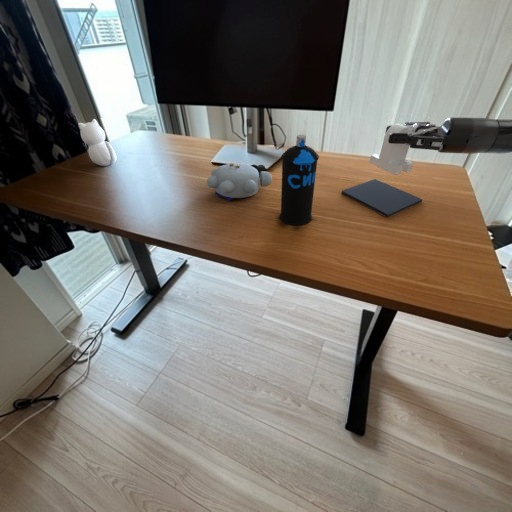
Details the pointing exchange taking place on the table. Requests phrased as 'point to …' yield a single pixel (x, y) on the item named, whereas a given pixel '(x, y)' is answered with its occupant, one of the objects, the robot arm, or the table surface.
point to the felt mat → (381, 197)
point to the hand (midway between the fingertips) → (387, 134)
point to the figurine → (238, 180)
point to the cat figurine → (97, 143)
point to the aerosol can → (298, 183)
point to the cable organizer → (393, 153)
